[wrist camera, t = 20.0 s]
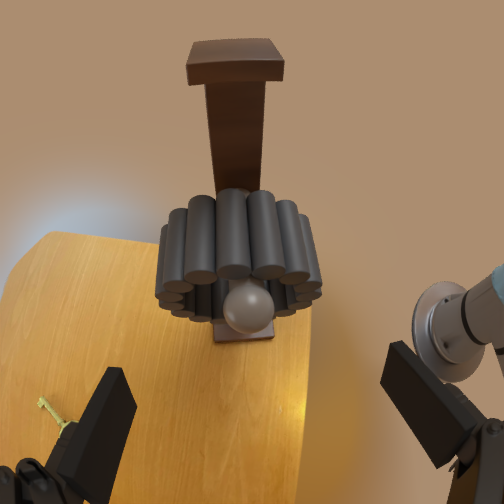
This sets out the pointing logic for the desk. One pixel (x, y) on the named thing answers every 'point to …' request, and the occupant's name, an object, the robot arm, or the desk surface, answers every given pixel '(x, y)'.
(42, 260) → the desk surface
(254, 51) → the brown pillar stand
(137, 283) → the desk surface
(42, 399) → the key
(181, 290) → the grey cylinder ring
